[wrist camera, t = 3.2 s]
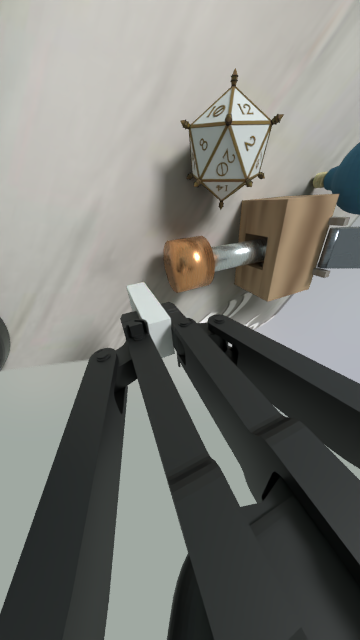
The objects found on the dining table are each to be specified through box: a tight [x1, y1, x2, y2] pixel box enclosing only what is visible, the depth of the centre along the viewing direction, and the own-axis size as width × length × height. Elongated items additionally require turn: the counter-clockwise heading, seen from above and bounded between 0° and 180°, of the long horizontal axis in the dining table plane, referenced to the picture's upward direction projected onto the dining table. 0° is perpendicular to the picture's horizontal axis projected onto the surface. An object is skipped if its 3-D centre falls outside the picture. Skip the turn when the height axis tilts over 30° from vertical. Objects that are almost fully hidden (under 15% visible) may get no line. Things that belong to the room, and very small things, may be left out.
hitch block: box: [234, 194, 350, 302], centre depth 26 cm, size 8×12×9 cm
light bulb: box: [313, 143, 360, 215], centre depth 24 cm, size 8×8×12 cm
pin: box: [164, 236, 268, 293], centre depth 25 cm, size 16×6×6 cm, turn 95°
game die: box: [181, 68, 284, 210], centre depth 18 cm, size 9×8×10 cm
